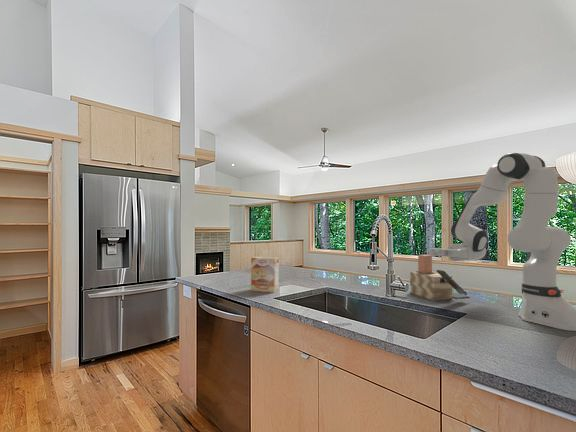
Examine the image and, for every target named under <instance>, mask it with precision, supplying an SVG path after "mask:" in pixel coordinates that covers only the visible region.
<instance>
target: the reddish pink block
mask: <svg viewBox="0 0 576 432" xmlns="http://www.w3.org/2000/svg"><path fill="white" fill-rule="evenodd" d="M417 256H418V258H417V259H418V260H417V261H418V263H417V267H418V269H417V271H418V272H423V273H432V272H433V256H432V255H429V254H417Z"/></svg>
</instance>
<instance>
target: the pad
mask: <svg viewBox="0 0 576 432" xmlns="http://www.w3.org/2000/svg"><path fill="white" fill-rule="evenodd" d="M469 297H470V296H469V295H463V294H459V293H458V292H454V293H453V292H452V299H456V300H457V299H458V298H460V299H469Z"/></svg>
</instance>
